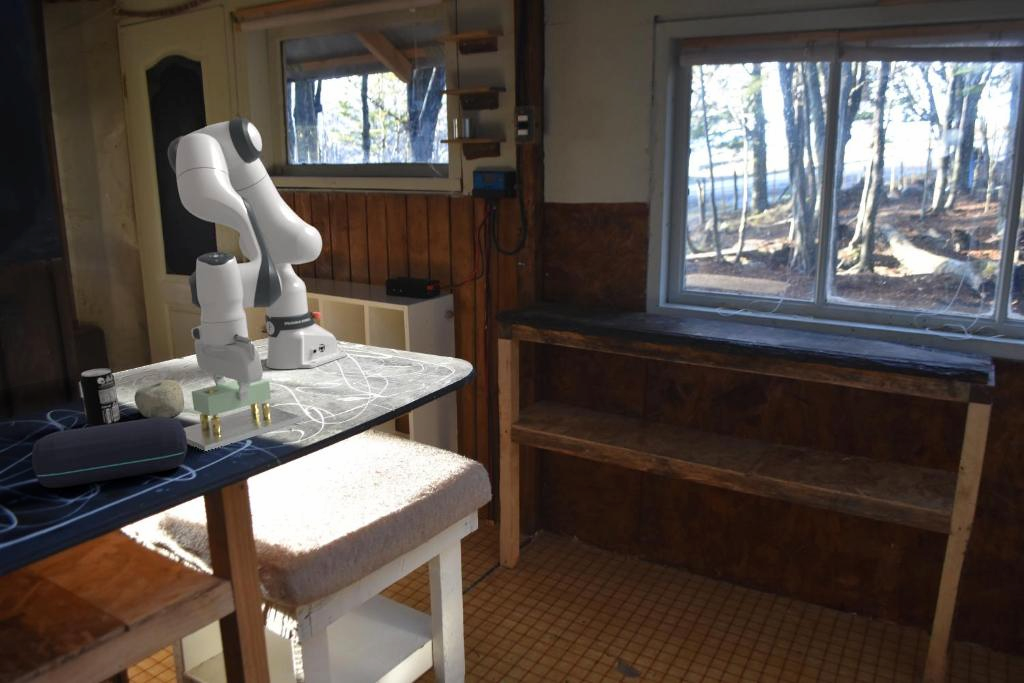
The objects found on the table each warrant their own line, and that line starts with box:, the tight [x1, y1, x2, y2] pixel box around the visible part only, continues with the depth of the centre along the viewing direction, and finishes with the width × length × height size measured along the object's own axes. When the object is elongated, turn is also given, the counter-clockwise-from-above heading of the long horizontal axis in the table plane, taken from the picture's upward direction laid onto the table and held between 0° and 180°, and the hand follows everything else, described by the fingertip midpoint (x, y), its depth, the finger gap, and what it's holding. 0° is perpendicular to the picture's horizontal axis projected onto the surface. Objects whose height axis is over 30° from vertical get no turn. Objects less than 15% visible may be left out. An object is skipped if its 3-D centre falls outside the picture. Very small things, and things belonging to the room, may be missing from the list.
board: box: [191, 378, 272, 417], centre depth 167 cm, size 14×6×4 cm, turn 139°
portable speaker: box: [31, 417, 188, 489], centre depth 144 cm, size 25×10×10 cm, turn 112°
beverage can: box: [79, 368, 121, 427], centre depth 174 cm, size 7×7×12 cm
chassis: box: [183, 389, 302, 452], centre depth 168 cm, size 22×14×10 cm, turn 139°
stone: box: [134, 379, 185, 419], centre depth 180 cm, size 10×10×10 cm
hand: (233, 396), depth 167 cm, fingers closed on board, 6 cm apart
